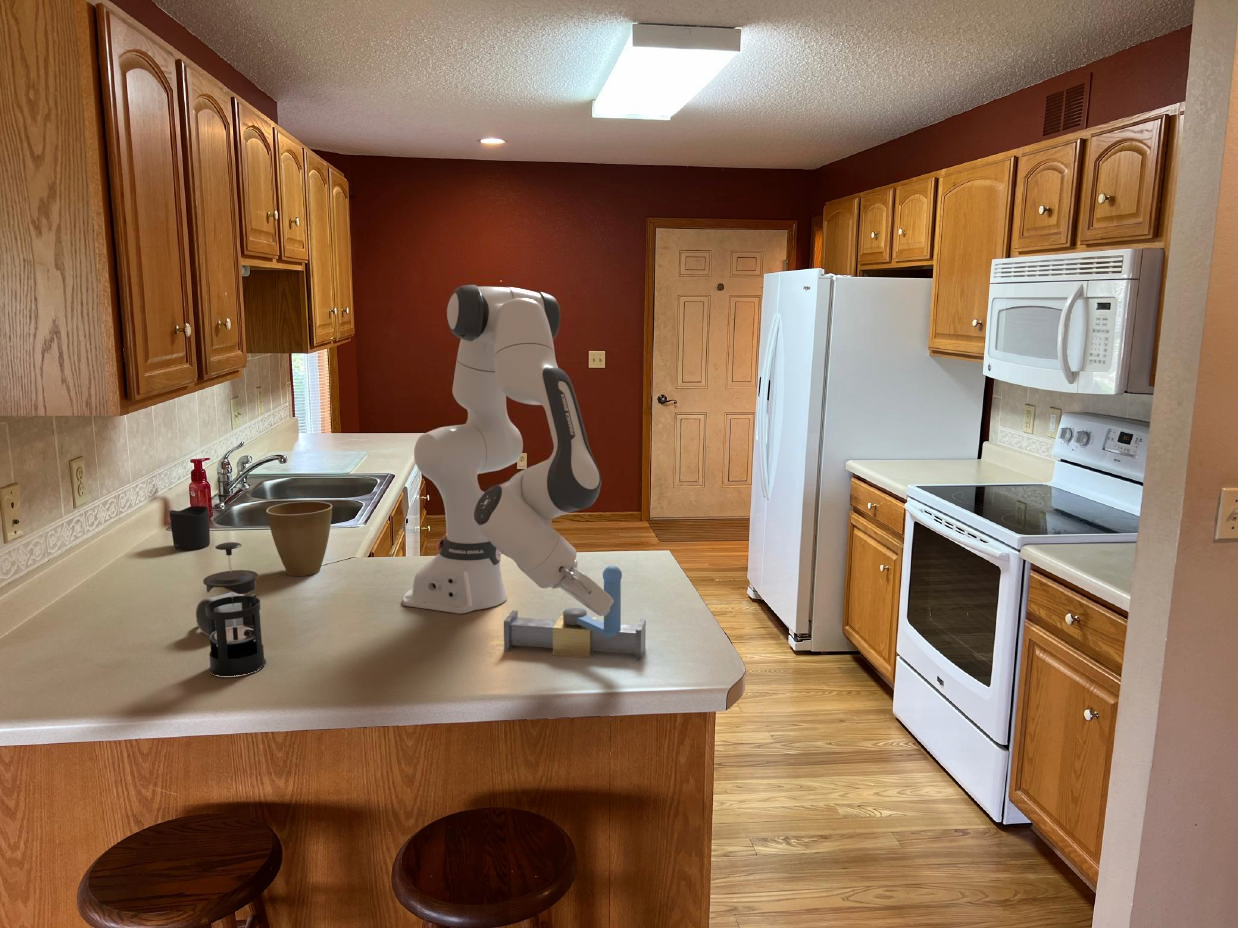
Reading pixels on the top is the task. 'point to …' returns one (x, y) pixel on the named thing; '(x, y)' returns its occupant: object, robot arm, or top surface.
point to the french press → (235, 644)
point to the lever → (612, 619)
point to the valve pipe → (572, 637)
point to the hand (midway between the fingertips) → (603, 610)
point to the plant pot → (301, 534)
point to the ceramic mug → (201, 611)
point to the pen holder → (190, 528)
